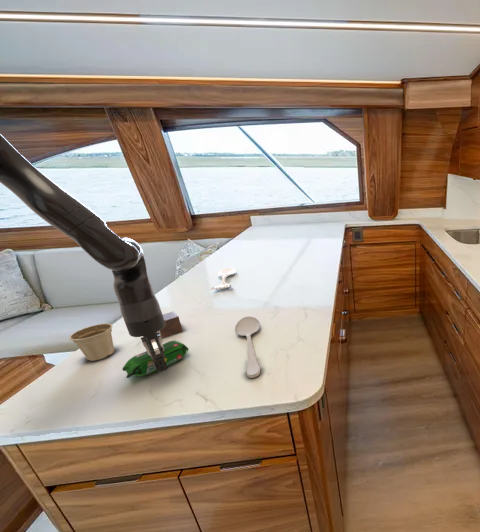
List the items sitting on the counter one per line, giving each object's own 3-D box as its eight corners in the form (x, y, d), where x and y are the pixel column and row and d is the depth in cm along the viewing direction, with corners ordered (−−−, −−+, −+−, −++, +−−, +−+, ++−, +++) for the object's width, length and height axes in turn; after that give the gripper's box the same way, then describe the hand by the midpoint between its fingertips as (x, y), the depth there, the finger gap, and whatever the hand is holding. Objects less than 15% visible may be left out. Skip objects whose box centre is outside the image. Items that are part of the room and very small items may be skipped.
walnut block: (162, 338, 101) (157, 322, 99) (158, 332, 105) (153, 317, 103) (182, 331, 106) (178, 316, 104) (178, 325, 109) (174, 311, 107)
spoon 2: (211, 294, 135) (209, 287, 134) (219, 273, 163) (217, 267, 162) (233, 291, 139) (231, 284, 138) (237, 270, 167) (236, 264, 165)
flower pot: (76, 357, 92) (65, 333, 89) (116, 343, 99) (107, 320, 96) (83, 368, 87) (72, 343, 84) (125, 352, 94) (116, 328, 91)
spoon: (235, 325, 108) (233, 319, 107) (259, 319, 112) (257, 313, 111) (239, 387, 80) (237, 379, 79) (271, 376, 83) (269, 369, 82)
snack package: (121, 377, 83) (114, 361, 81) (183, 348, 95) (178, 334, 94) (130, 386, 79) (124, 370, 77) (194, 355, 92) (190, 341, 90)
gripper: (120, 312, 79) (141, 366, 85) (127, 328, 70) (149, 388, 76) (155, 302, 84) (173, 354, 90) (165, 316, 75) (184, 373, 81)
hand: (162, 369), depth 83 cm, fingers closed
